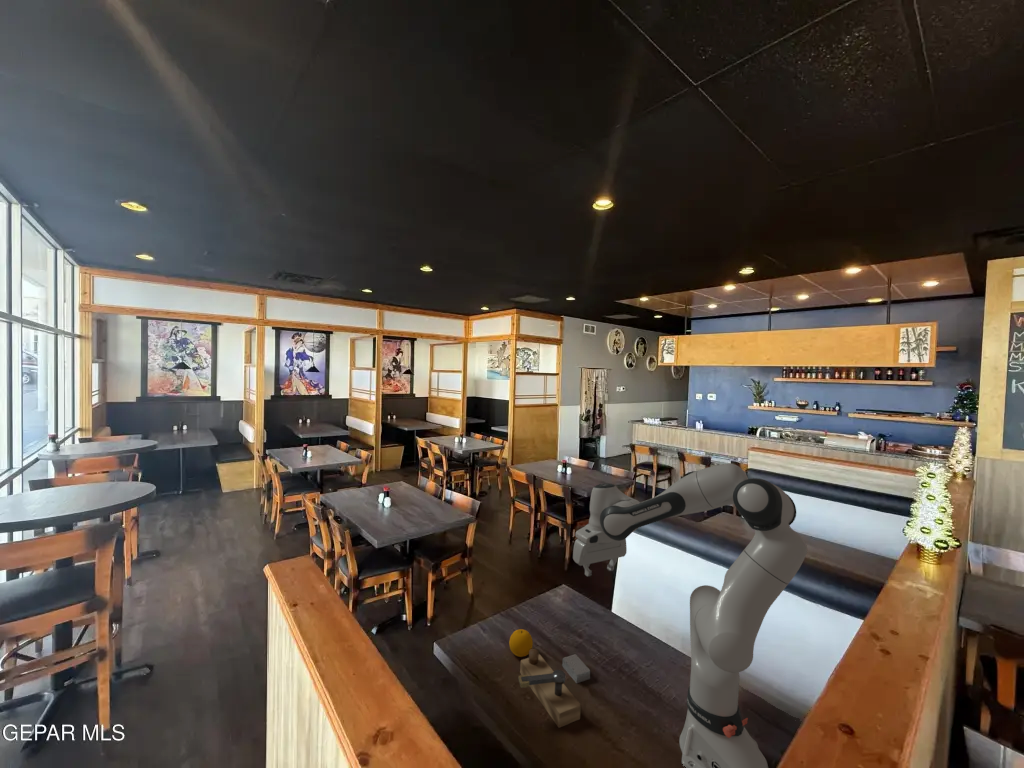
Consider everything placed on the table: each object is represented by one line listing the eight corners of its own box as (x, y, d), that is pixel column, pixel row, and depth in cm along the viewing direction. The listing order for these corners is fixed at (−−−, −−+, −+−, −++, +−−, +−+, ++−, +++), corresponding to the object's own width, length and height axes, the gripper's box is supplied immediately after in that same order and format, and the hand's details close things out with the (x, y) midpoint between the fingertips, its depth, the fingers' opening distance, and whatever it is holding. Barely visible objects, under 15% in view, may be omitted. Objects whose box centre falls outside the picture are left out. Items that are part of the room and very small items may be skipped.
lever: (562, 674, 119) (563, 669, 119) (566, 683, 116) (567, 678, 116) (518, 679, 116) (518, 674, 116) (521, 689, 113) (521, 683, 113)
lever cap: (589, 679, 129) (590, 670, 129) (576, 684, 127) (577, 674, 126) (575, 662, 136) (575, 653, 136) (562, 666, 134) (562, 657, 134)
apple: (505, 657, 136) (506, 635, 136) (512, 642, 144) (513, 621, 144) (529, 663, 134) (530, 641, 134) (534, 648, 142) (535, 627, 141)
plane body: (580, 718, 114) (581, 691, 113) (558, 728, 110) (560, 700, 110) (539, 666, 133) (540, 643, 133) (520, 672, 130) (521, 648, 130)
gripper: (619, 524, 145) (616, 563, 145) (571, 532, 135) (569, 573, 136) (632, 531, 139) (629, 571, 139) (583, 540, 130) (580, 583, 130)
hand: (599, 572), depth 137 cm, fingers open, 8 cm apart
